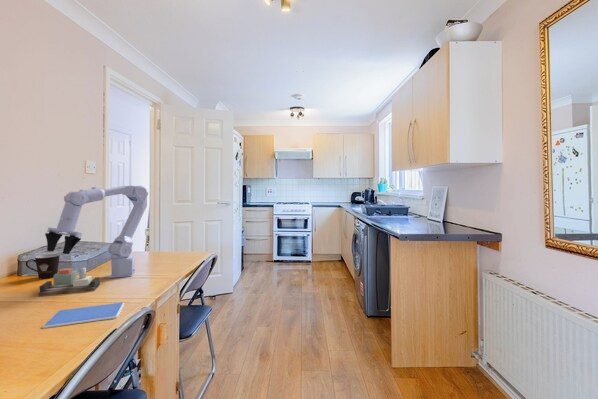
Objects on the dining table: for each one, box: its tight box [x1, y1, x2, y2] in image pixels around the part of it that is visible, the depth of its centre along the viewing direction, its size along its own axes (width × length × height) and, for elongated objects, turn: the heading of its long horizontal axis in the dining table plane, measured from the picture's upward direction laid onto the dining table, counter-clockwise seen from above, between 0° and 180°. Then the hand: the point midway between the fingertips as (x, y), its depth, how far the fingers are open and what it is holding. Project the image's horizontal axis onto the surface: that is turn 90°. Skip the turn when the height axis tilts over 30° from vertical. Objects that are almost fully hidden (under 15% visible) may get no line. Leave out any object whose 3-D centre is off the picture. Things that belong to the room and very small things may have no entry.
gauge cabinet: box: [53, 269, 78, 286], centre depth 121 cm, size 6×6×5 cm
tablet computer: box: [41, 302, 125, 329], centre depth 93 cm, size 19×13×1 cm, turn 112°
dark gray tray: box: [37, 276, 101, 297], centre depth 115 cm, size 18×8×4 cm, turn 111°
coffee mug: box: [25, 253, 61, 280], centre depth 131 cm, size 12×9×10 cm
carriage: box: [73, 267, 93, 287], centre depth 116 cm, size 5×5×6 cm
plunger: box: [58, 267, 73, 274], centre depth 121 cm, size 3×3×4 cm
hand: (58, 252), depth 114 cm, fingers open, 7 cm apart
